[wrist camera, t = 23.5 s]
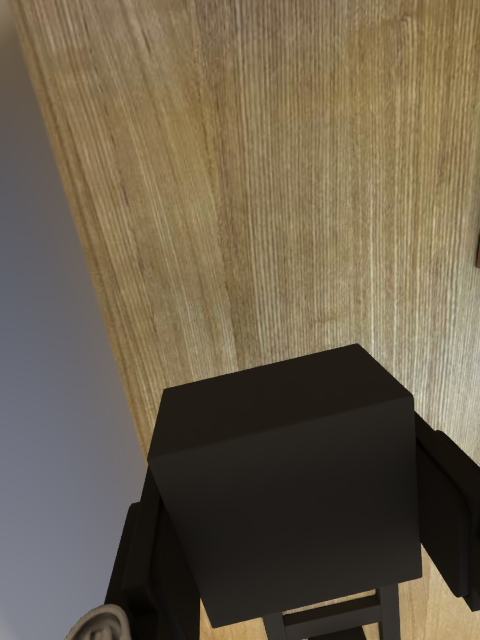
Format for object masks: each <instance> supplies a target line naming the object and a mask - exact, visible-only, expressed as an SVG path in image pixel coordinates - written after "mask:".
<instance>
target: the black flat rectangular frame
mask: <svg viewBox="0 0 480 640" xmlns="http://www.w3.org/2000/svg"><path fill="white" fill-rule="evenodd" d="M376 594H377V596H376V595H374V596H370V597H365V598H361V599H357V600H352V601H348V602H343V603H339V604H335V605H330V606H326V607H321V608H317V609H313V610H308V611H304V612H299V613H295V614H291V615H286V616H282V612H279V613H275V614H271V615H267V616H263V617H262V618H263V622H264V625H265V629H266V633H267V637H268V640H302V639H306V638H311V637H315V636H319V635H324V634H328V633H332V632H337V631H341V630H346V629H350V628H354V627H359V626H363V625H367V624H372V623H376V622H379V632H380V640H401V638H400V616H399V595H398V584H393V585H389V586H385V587H381V588H377V589H376Z"/></svg>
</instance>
